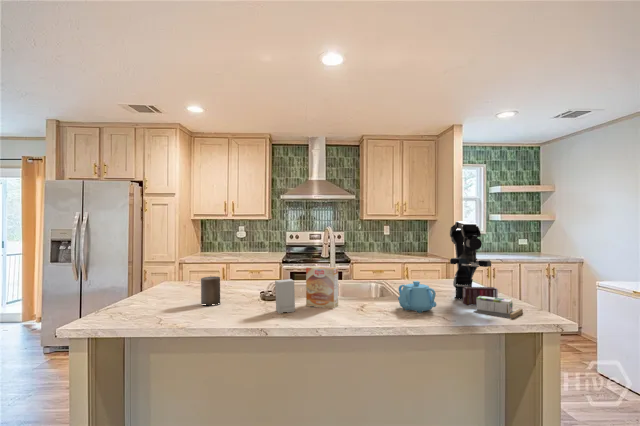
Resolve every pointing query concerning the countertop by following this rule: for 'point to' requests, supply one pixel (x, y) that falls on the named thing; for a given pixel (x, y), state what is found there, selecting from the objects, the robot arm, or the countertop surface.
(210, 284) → the pillar candle
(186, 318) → the countertop surface
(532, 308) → the countertop surface
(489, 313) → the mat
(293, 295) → the skincare box
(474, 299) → the supplement box
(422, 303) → the decorative pot
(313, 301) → the coffeecake box
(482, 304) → the syrup box
